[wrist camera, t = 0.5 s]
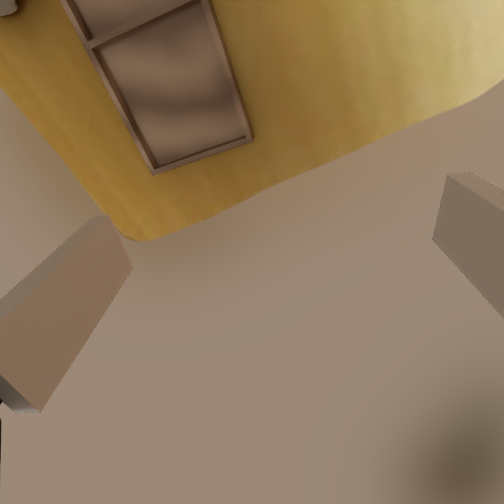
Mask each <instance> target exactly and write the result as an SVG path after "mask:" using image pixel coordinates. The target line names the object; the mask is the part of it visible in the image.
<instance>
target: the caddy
mask: <svg viewBox="0 0 504 504" xmlns="http://www.w3.org/2000/svg"><path fill="white" fill-rule="evenodd" d="M60 2H61V4H62V6H63V8H64V10H65V12H66V13H67V15H68V17H69V19H70V21H71V23H72V25H73V27H74V29H75V30H76V32H77V34H78V36H79V38H80V40H81V42H82V44H83V46H84V47H85V49H86V51H87V53H88V55H89V57H90V59H91V61H92V63H93V64H94V66H95V68H96V70H97V72H98V74H99V76H100V78H101V80H102V81H103V83H104V85H105V87H106V89H107V91H108V93H109V95H110V97H111V98H112V100H113V102H114V104H115V106H116V108H117V110H118V112H119V114H120V115H121V117H122V119H123V121H124V123H125V125H126V127H127V129H128V131H129V133H130V134H131V136H132V138H133V140H134V142H135V144H136V146H137V148H138V150H139V151H140V153H141V155H142V157H143V159H144V161H145V163H146V165H147V167H148V168H149V170H150V172H151V174H152V176H153V175H156V174H159V173H162V172H164V171H167V170H170V169H173V168H176V167H179V166H182V165H185V164H188V163H191V162H194V161H196V160H199V159H202V158H205V157H208V156H211V155H214V154H217V153H220V152H223V151H226V150H229V149H231V148H234V147H237V146H240V145H243V144H246V143H249V142H252V141H253V138H254V136H253V133H252V129H251V126H250V123H249V120H248V117H247V114H246V110H245V107H244V104H243V101H242V98H241V95H240V91H239V88H238V85H237V82H236V79H235V76H234V72H233V69H232V66H231V63H230V60H229V57H228V53H227V50H226V47H225V44H224V41H223V38H222V34H221V31H220V28H219V25H218V22H217V19H216V15H215V12H214V9H213V6H212V3H211V0H60Z"/></svg>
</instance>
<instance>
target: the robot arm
mask: <svg viewBox="0 0 504 504" xmlns="http://www.w3.org/2000/svg"><path fill="white" fill-rule="evenodd" d="M432 240H433V241H434V242H435V243H436V244H437V245H438V247H439V248H440V249H441V250H442V251H443V252H444V253H445V254H446V255H447V256H448V258H449V259H450V260H451V261H452V262H453V263H454V264H455V265H456V266H457V267H458V269H459V270H460V271H461V272H462V273H463V274H464V275H465V276H466V277H467V279H468V280H469V281H470V282H471V283H472V284H473V285H474V286H475V287H476V288H477V290H478V291H479V292H480V293H481V294H482V295H483V296H484V297H485V298H486V299H487V300H488V302H489V303H490V304H491V305H492V306H493V307H494V308H495V310H496V311H498V313H499V314H500V315H501V316H502V317H503V318H504V191H503V190H502V189H500V188H498V187H496V186H494V185H493V184H491V183H489V182H487V181H485V180H484V179H482V178H480V177H478V176H477V175H475V174H473V173H471V172H465V173H457V174H448V175H447V177H446V182H445V186H444V190H443V195H442V199H441V203H440V208H439V212H438V216H437V221H436V225H435V229H434V234H433V238H432ZM132 270H133V265H132V263H131V261H130V259H129V257H128V255H127V252H126V250H125V248H124V246H123V244H122V242H121V240H120V237H119V235H118V233H117V231H116V229H115V227H114V225H113V222H112V220H111V218H110V216H109V215H106V216H97V217H92V218H91V219H90V220H88V221H87V222H86V223H85V224H84V225H83V226H82V227H81V228H80V229H78V230H77V231H76V232H75V233H74V234H73V235H72V236H71V237H69V238H68V239H67V240H66V241H65V242H64V243H63V244H62V245H61V246H59V247H58V248H57V249H56V250H55V251H54V252H53V253H52V254H51V255H49V256H48V257H47V258H46V259H45V260H44V261H43V262H42V263H41V264H40V265H38V266H37V267H36V268H35V269H34V270H33V271H32V272H31V273H29V274H28V275H27V276H26V277H25V278H24V279H23V280H22V281H21V282H19V283H18V284H17V285H16V286H15V287H14V288H13V289H12V290H11V291H9V292H8V294H6V295H5V296H4V297H3V298H2V299H0V404H1V403H2V402H3V403H5V404H6V405H7V406H8V407H9V408H10V409H11V410H13V411H14V412H15V413H40V412H41V411H42V409H43V408H44V406H45V405H46V403H47V402H48V400H49V399H50V397H51V395H52V394H53V392H54V391H55V389H56V388H57V386H58V385H59V383H60V381H61V380H62V378H63V377H64V375H65V374H66V372H67V371H68V369H69V368H70V366H71V364H72V363H73V361H74V360H75V358H76V357H77V355H78V354H79V352H80V350H81V349H82V347H83V346H84V344H85V343H86V341H87V340H88V338H89V336H90V335H91V333H92V332H93V330H94V328H95V327H96V326H97V324H98V322H99V321H100V319H101V318H102V316H103V315H104V313H105V312H106V310H107V309H108V307H109V305H110V304H111V302H112V301H113V299H114V298H115V296H116V295H117V293H118V291H119V290H120V288H121V287H122V285H123V284H124V282H125V280H126V279H127V277H128V276H129V274H130V273H131V271H132ZM0 459H1V419H0ZM0 461H1V460H0Z"/></svg>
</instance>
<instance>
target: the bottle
mask: <svg viewBox="0 0 504 504" xmlns="http://www.w3.org/2000/svg"><path fill="white" fill-rule="evenodd" d="M16 10H17V4H16V2H15V0H0V17H1V16H4V15H9V14H12V13H14V12H15V11H16Z"/></svg>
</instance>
